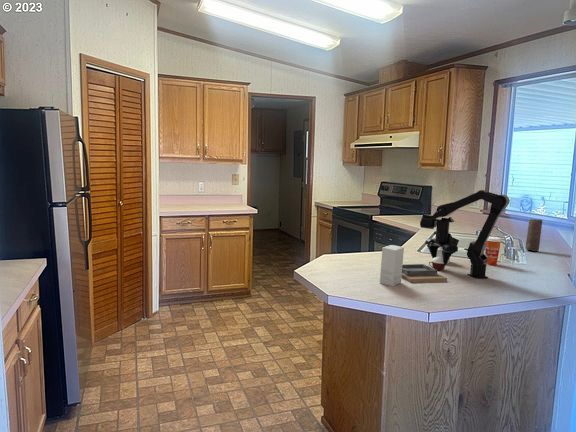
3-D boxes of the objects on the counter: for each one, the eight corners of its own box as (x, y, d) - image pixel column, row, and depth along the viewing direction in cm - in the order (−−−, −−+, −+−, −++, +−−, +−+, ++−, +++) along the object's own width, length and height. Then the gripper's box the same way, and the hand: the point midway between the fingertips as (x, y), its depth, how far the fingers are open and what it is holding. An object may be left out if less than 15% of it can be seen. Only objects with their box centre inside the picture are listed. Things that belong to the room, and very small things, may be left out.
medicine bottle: (449, 263, 224) (451, 241, 223) (434, 262, 226) (436, 239, 224) (447, 260, 231) (449, 238, 230) (433, 259, 233) (435, 237, 231)
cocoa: (427, 269, 212) (428, 245, 210) (431, 266, 217) (432, 243, 215) (447, 272, 206) (448, 247, 205) (451, 269, 211) (452, 245, 210)
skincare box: (388, 279, 189) (390, 244, 187) (402, 283, 185) (405, 246, 183) (378, 283, 182) (381, 246, 180) (393, 286, 178) (396, 249, 176)
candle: (539, 253, 264) (543, 220, 261) (525, 251, 267) (529, 219, 264) (538, 251, 271) (541, 219, 268) (524, 249, 274) (528, 218, 271)
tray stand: (447, 281, 190) (447, 273, 190) (409, 282, 186) (410, 274, 185) (420, 268, 211) (420, 261, 211) (386, 269, 207) (386, 262, 206)
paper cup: (482, 264, 226) (484, 237, 225) (483, 261, 233) (485, 235, 231) (498, 266, 223) (501, 239, 221) (499, 263, 230) (502, 237, 228)
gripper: (469, 233, 202) (466, 266, 204) (445, 227, 220) (442, 257, 222) (448, 234, 199) (445, 267, 201) (426, 227, 217) (423, 258, 219)
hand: (439, 262), depth 211 cm, fingers open, 9 cm apart
